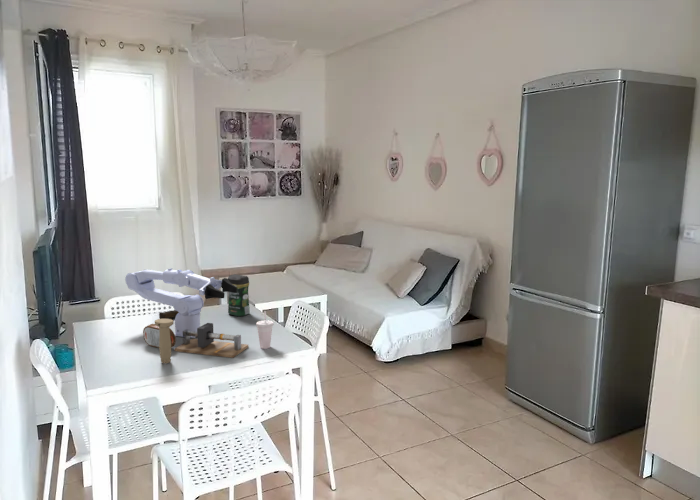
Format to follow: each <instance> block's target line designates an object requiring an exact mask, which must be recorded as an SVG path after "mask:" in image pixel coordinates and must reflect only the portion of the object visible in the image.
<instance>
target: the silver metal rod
mask: <svg viewBox="0 0 700 500" xmlns="http://www.w3.org/2000/svg"><path fill="white" fill-rule="evenodd" d="M190 336H194V337H195V338H197V331H190V330H187V329H186V330H184V331H183V337H182V344H183V345H187V344H189V343H190V340H191V337H190ZM206 338H212V339H214V340H220V341H233V343H234V350H236V351H238V350H240V349H241V344H242V335H241V334H236V335H234V334H225V333H214V332H213V333H207V332H206Z"/></svg>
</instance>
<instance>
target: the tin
mask: <svg viewBox="0 0 700 500" xmlns="http://www.w3.org/2000/svg"><path fill="white" fill-rule="evenodd" d="M142 335H143V340H144V341H145V343H146V345H148V346H149V347H153V348H158V349H159V327H158V326H156V325H155V323H151V324H148V325H146V326H145V327H144V328H143V330H142ZM170 339H171V349H172V348H173V347H174V346H175V345H176V341H177V339H176V336H175V333H174V330H172V329H171V328H170Z"/></svg>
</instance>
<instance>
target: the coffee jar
mask: <svg viewBox="0 0 700 500" xmlns="http://www.w3.org/2000/svg"><path fill="white" fill-rule="evenodd" d="M227 279H228V280H229V282H230V283H231V284H233V285H234V286H236V287H237V292H236V293H233V292H228V304H227V305H228V306H227V307H228V308H227V311H228V312H227V313H228V314H229V315H231V316H235V317H244V316H245V317H246V316H248V315H249V314H250V313H251V312H250V311H251V310H250V301H249V300H250V299H249V298H250V297H249V286H250V278H249V276H247V275H242V274H235V273H234V274H231V275H228V277H227Z"/></svg>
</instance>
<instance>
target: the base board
mask: <svg viewBox="0 0 700 500" xmlns="http://www.w3.org/2000/svg"><path fill="white" fill-rule="evenodd" d="M246 349H249V344H245V343H241V349H240V350H238V351H236V350H234V342H225V341H218V340H214V342H212V343H211V344H209V345H207V346H206V347H204V348H202V347H198V338H190V343H189V344H187V345H183V343H181V344H180V345H179V346H176V347H175V348H174V352H179V353H180V352H181V353H187V354H196V355H197V354H198V355H205V356H213V357H214V356H215V357H222V358H231V359H234V358H235V357H236V356H238V355H239V354H241V353H242V352H244V351H245V350H246Z"/></svg>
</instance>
